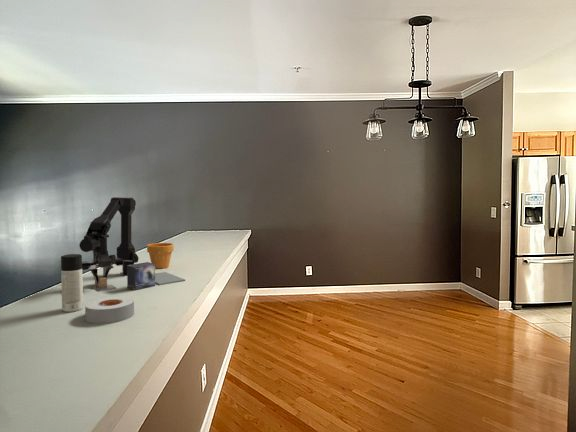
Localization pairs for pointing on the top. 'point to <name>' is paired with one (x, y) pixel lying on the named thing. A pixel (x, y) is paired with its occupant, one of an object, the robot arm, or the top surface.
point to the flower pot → (160, 254)
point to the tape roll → (109, 310)
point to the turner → (103, 284)
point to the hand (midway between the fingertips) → (100, 282)
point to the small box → (140, 275)
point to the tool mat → (166, 278)
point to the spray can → (71, 282)
